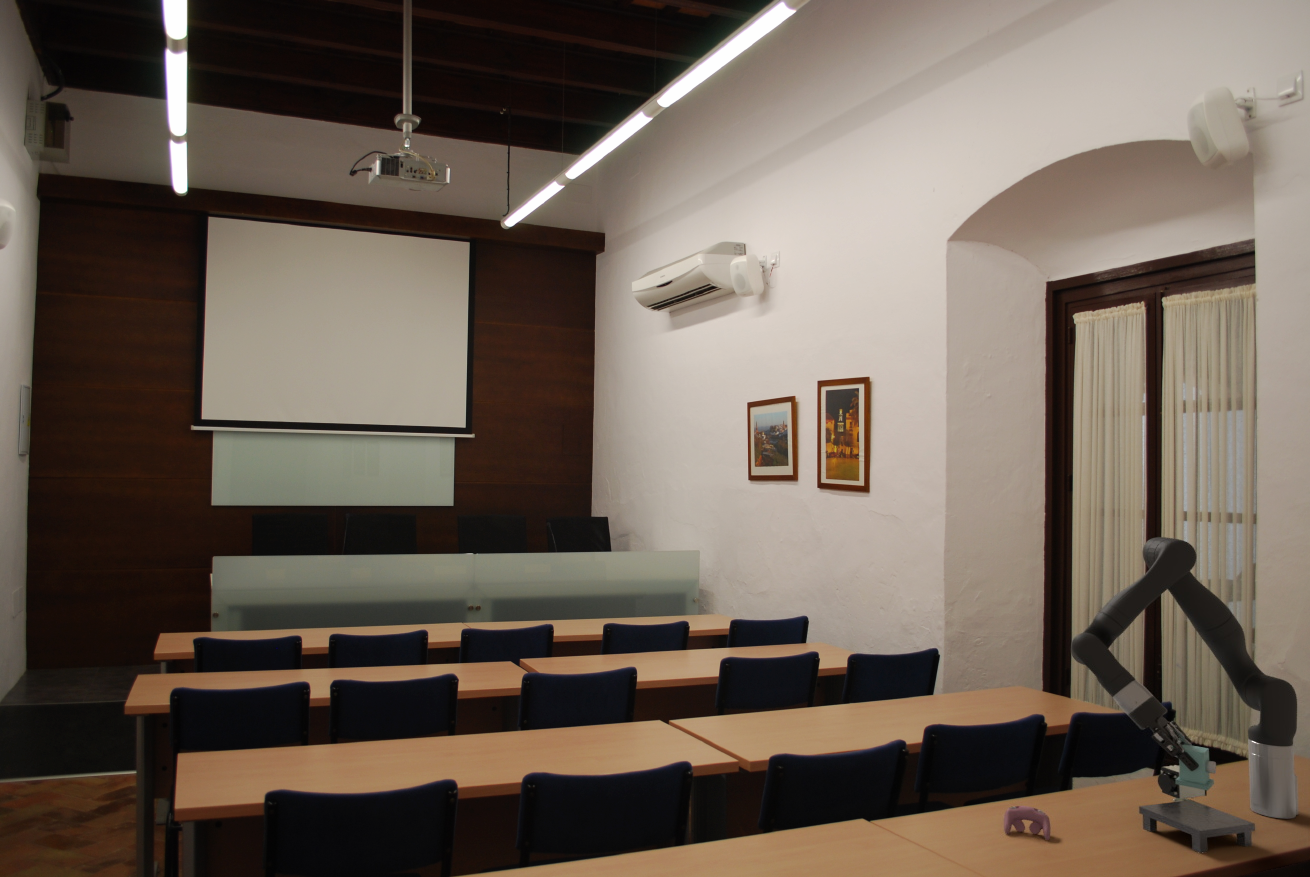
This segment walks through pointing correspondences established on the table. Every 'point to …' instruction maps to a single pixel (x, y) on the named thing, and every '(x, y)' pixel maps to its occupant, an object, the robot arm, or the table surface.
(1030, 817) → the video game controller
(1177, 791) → the pneumatic valve
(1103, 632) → the robot arm
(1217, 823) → the stand
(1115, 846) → the table surface
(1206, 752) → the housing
